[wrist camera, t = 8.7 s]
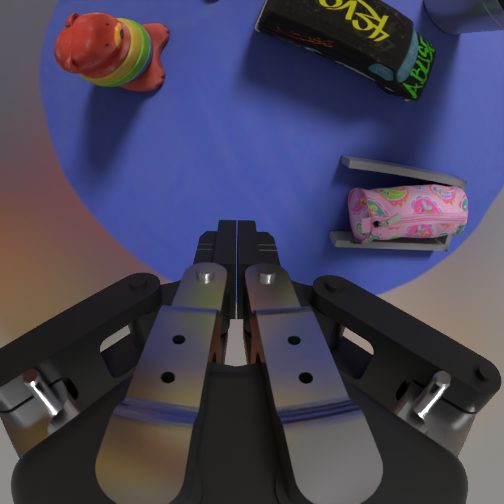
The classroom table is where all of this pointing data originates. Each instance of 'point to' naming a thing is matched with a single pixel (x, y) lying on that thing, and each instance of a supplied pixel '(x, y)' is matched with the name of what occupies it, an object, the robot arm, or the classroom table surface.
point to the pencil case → (406, 212)
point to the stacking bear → (112, 51)
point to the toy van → (356, 39)
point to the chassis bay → (401, 242)
